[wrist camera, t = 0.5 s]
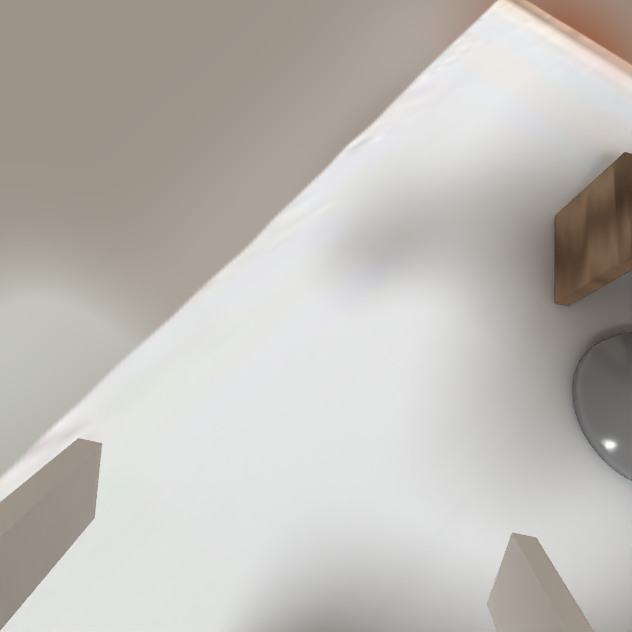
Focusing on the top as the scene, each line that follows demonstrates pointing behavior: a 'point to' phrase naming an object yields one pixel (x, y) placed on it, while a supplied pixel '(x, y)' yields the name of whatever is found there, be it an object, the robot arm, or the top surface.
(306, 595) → the top surface
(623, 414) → the dish
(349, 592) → the top surface
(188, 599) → the top surface
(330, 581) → the top surface
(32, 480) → the robot arm
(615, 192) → the cover
